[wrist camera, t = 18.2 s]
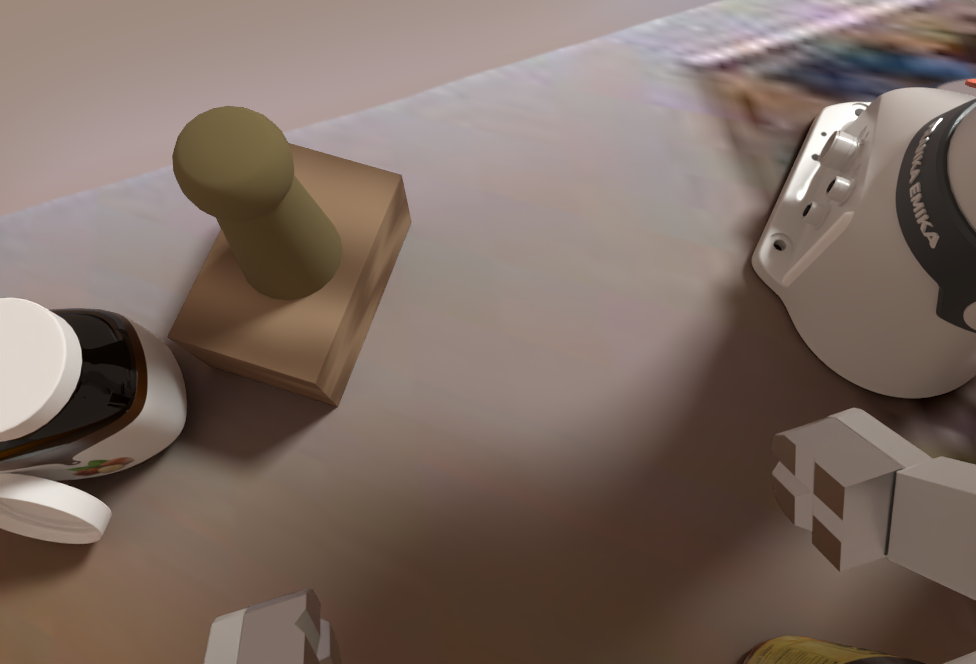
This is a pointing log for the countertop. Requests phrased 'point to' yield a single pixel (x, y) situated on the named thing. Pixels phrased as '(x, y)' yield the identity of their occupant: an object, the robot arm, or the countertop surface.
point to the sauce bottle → (816, 653)
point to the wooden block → (318, 317)
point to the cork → (257, 201)
